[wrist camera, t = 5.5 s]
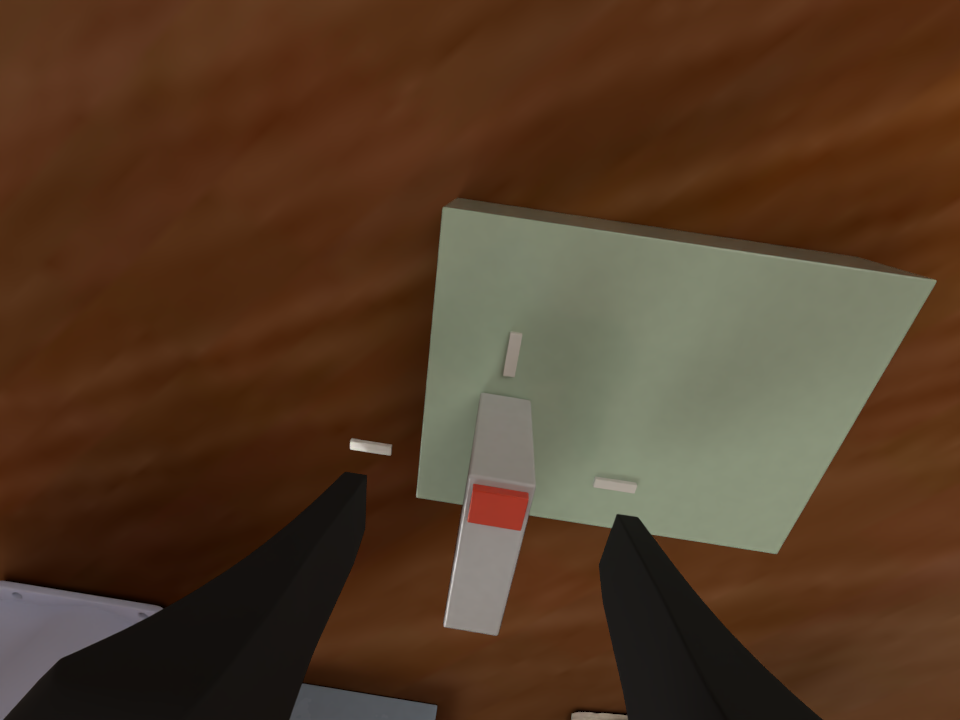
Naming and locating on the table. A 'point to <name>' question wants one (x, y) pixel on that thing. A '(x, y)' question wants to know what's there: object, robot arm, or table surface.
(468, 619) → the tap handle
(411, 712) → the button housing
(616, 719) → the condiment
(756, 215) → the table surface
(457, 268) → the plate
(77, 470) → the table surface
